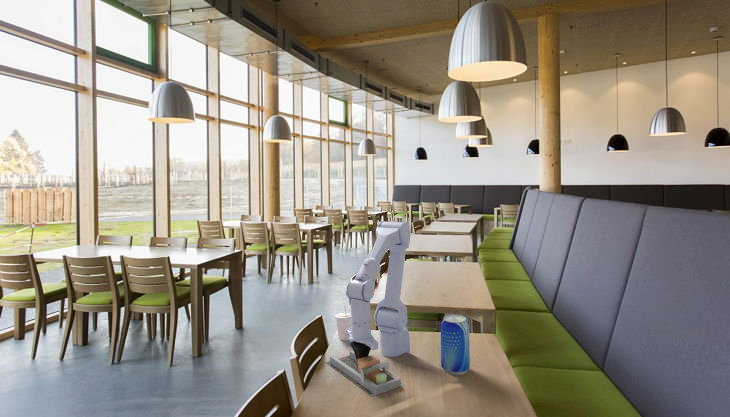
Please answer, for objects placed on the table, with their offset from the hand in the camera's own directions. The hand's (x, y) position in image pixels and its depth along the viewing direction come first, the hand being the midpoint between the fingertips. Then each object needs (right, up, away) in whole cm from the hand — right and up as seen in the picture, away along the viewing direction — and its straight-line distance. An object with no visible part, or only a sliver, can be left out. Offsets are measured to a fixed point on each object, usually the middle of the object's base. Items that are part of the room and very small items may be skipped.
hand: (362, 365), depth 128 cm
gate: (+4, -4, -5) cm, 8 cm away
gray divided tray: (0, -3, 0) cm, 3 cm away
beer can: (+28, -3, +3) cm, 28 cm away
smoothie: (-6, -2, +28) cm, 29 cm away
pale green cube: (+5, -3, -8) cm, 10 cm away
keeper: (+3, -2, -4) cm, 5 cm away
